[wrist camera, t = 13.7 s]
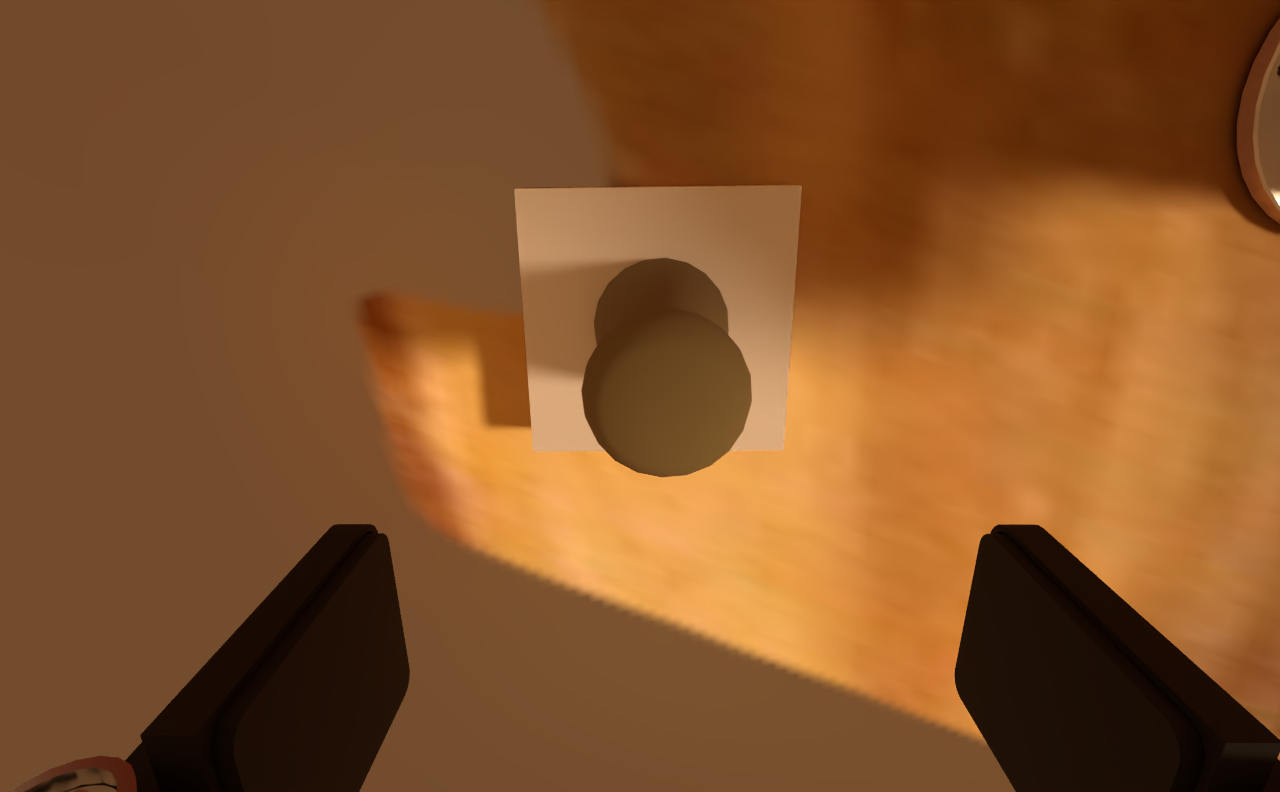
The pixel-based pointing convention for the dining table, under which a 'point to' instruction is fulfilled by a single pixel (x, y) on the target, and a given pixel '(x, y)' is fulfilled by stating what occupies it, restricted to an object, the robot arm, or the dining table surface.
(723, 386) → the cork
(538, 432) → the block
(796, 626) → the dining table surface
